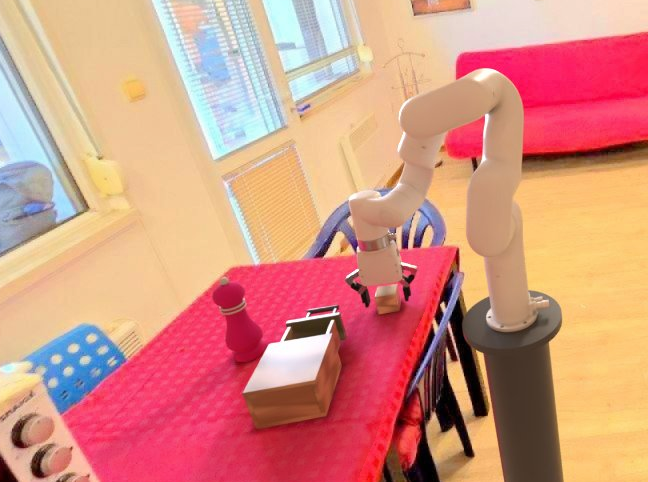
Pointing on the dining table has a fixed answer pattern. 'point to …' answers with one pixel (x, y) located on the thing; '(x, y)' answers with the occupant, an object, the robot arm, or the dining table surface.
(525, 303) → the robot arm
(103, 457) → the dining table surface
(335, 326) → the drawer
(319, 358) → the cabinet
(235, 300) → the pepper mill
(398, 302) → the block
